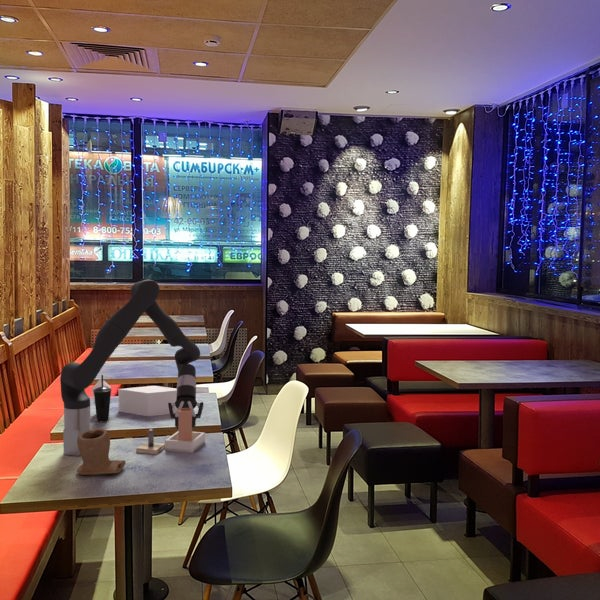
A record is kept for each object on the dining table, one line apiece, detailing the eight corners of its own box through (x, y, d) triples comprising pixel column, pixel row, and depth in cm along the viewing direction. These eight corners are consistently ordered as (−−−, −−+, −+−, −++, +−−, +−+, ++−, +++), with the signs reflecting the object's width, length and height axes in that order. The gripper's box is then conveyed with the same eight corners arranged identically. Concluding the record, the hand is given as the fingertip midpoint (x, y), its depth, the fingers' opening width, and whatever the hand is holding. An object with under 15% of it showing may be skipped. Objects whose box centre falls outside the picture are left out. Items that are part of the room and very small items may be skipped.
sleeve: (191, 442, 248) (191, 411, 247) (178, 442, 247) (178, 411, 246) (192, 438, 253) (192, 407, 252) (179, 438, 252) (179, 408, 251)
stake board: (156, 454, 241) (156, 450, 241) (136, 452, 243) (136, 448, 243) (165, 447, 249) (165, 443, 249) (145, 445, 250) (145, 441, 250)
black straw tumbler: (112, 415, 292) (111, 380, 291) (92, 416, 289) (92, 381, 288) (110, 410, 300) (110, 376, 298) (91, 412, 297) (91, 377, 295)
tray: (192, 453, 243) (192, 442, 242) (165, 450, 245) (165, 440, 245) (205, 442, 255) (205, 432, 255) (178, 440, 258) (178, 430, 257)
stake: (153, 447, 244) (153, 430, 244) (147, 447, 244) (147, 430, 244) (153, 444, 247) (153, 428, 246) (148, 444, 247) (148, 428, 246)
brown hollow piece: (71, 480, 214) (71, 435, 213) (81, 467, 226) (81, 425, 225) (118, 479, 215) (118, 435, 214) (126, 467, 227) (125, 425, 226)
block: (122, 407, 306) (122, 385, 305) (186, 408, 307) (186, 385, 306) (114, 416, 291) (114, 392, 290) (182, 416, 292) (181, 393, 291)
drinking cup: (115, 419, 285) (115, 374, 283) (102, 423, 278) (101, 377, 277) (103, 417, 289) (102, 372, 287) (89, 421, 282) (89, 375, 280)
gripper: (167, 384, 255) (165, 423, 244) (204, 383, 256) (204, 422, 246) (168, 394, 260) (166, 432, 250) (204, 393, 262) (204, 431, 251)
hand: (185, 427), depth 248 cm, fingers closed on sleeve, 5 cm apart
